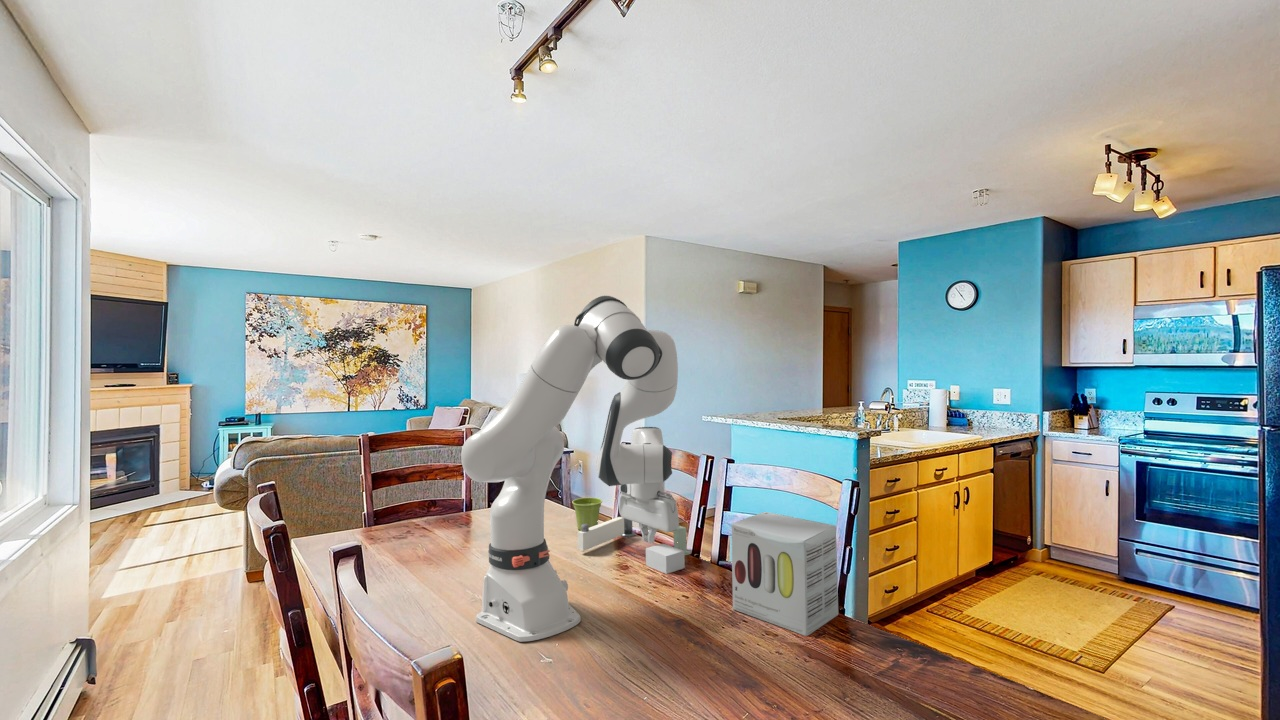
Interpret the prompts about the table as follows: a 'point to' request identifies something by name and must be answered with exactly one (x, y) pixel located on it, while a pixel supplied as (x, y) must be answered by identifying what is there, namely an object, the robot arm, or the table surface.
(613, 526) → the gate
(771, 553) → the supplement box
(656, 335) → the robot arm
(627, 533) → the hinge post
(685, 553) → the post
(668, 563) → the light grey block
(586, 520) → the plant pot
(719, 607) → the table surface
